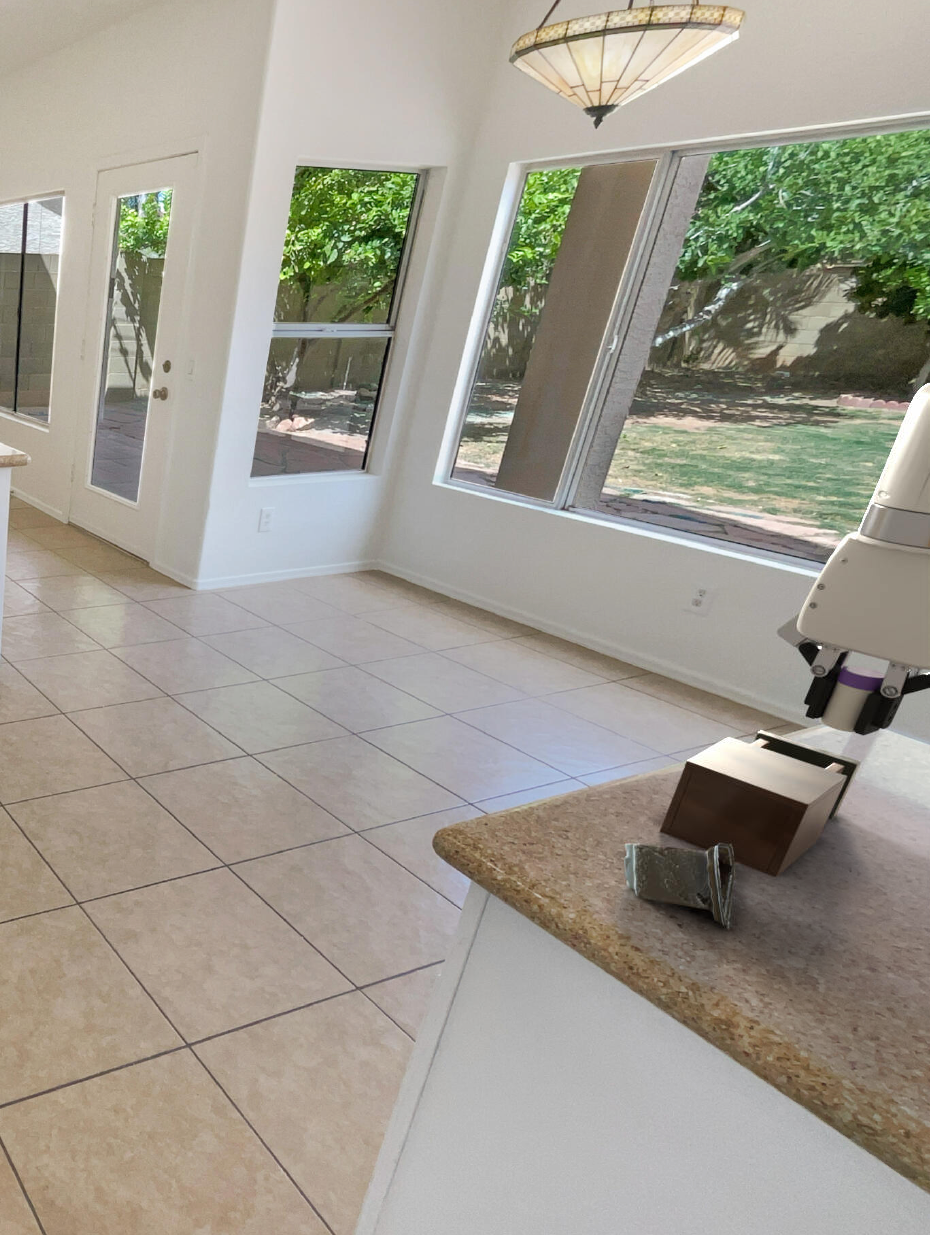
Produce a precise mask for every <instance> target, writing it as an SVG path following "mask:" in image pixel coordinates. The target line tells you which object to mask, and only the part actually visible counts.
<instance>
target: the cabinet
mask: <svg viewBox="0 0 930 1235" xmlns="http://www.w3.org/2000/svg"><path fill="white" fill-rule="evenodd" d="M846 778H847V776H845V775H842V774H839V773H836V772H833V771H830V770H827V769H824V768H821V767H818V766H815V765H812V764H809V763H806V762H803V761H800V760H797V759H794V758H791V757H788V756H785V755H782V754H779V753H776V752H773V751H770V750H767V749H764V748H761V747H758V746H755V745H752V743H749V742H745V741H742V740H739V739H736V738H734V737H730V736H729V737H727V738H724V739H723V740H721V741H719V742H717V743H715V744H714V745H712V746H710V747H708V748H707V749H705V750H703V751H701V752H700V753H698V754H697V755H695V756H693V757H691V758H689V759H687V760H686V762H685V764H684V767H683V770H682V772H681V775H680V778H679V780H678V782H677V784H676V788H675V791H674V793H673V795H672V797H671V801H670V803H669V806H668V808H667V811H666V814H665V815H664V816H665V817H664V819H663V822H662V824H661V827H660V829H659V832H660V833H663V834H665V835H667V836H670V837H672V838H676V839H678V840H680V841H683V842H685V843H688V844H690V845H693V846H695V847H698V848H700V849H703V850H704V851H707V850H708V849H710V848H711V847H715V846H717V845H718V843H724V844H728V845H729V844H731V846H732V847H733V848H732V849H733V858H734V863H738V864H740V865H743V866H746V867H748V868H751V869H753V870H756V871H758V872H761V873H764V874H765V875H768V876H771V877H773V878H777V877H779V875H781V874H782V873H783V872H784V871H785V870H786V869H787V868H789V867H790V866H791V865H793V863H794V862H795V861H797V859H798V858H800V857H801V856H802V855H803V854H804V853H805V852H807V851H808V850H809V849H810V848H811V847H813V845H815V844H816V843H817V842H818V841H819V838H820V836H821V834H822V832H823V829H824V827H825V826H826V824H827V821H828V819H829V818H828V817H829V815H830V813H831V810H832V808H833V806H834V804H835V802H836V800H837V798H838V795H839V793H840V791H841V789H842V787H843V785H844V782H845V781H846Z"/></svg>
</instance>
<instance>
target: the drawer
mask: <svg viewBox="0 0 930 1235" xmlns="http://www.w3.org/2000/svg"><path fill="white" fill-rule="evenodd" d="M751 744H752V745H755V746H758V747H761V748H764V749H767V750H770V751H773V752H776V753H779V754H782V755H785V756H788V757H791V758H794V759H797V760H800V761H803V762H806V763H809V764H812V765H815V766H818V767H821V768H824V769H827V770H830V771H833V772H836V773H839V774H842V775H845V776H847V778H846V781H845V782H844V785H843V787H842V789H841V791H840V793H839V795H838V798H837V800H836V802H835V804H834V806H833V808H832V810H831V813H830V815H829V817H828V819H829V820H834V818H836V817H837V815H838V813H839V811H840V808H841V807H842V804H843V802H844V800H845V798H846V796H847V794H848V791H849V789H850V787H851V785H852V783H853V781H854V778H855V776H856V775H857V772H858V770H859V768H860V767H861V764H862V761H859V760H857V759H853V758H851V757H847V756H844V755H841V754H838V753H835V752H832V751H828V750H825V749H823V748H820V747H816V746H814V745H810V744H807V743H803V742H801V741H798V740H795V739H791V738H787V737H785V736H781V735H779V734H775V733H772V732H769V731H766V730H760V731H758V732H757V733H756V734H755V738H754V740H753V742H752V743H751Z"/></svg>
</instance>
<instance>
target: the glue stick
mask: <svg viewBox="0 0 930 1235" xmlns="http://www.w3.org/2000/svg"><path fill="white" fill-rule="evenodd" d="M884 677H885V674H884V673H883V672H880V671H877V670H874V669H871V668H868V667H867V668H866V667H862V666H856V665H845V666H844V667H843V668H842V670H841V672H840V674H839V677H838V679H837V680H838V681H837V683H836V686H835V688H834V690H833V693H832V695H831V697H830V699H829V702H828V704H827V706H826V709H825V711H824V713H823V716H822V717H821V718H820V723H821V724H823V725H824V726H825V727H829V728H832V729H834V730H837V731H842V732H846V733H855V731H853V729H854V726H855V724H856V722H857V720H858V717H859V715H860V713H861V711H862V708H863V706H864V704H865V702H866V699H867V697H868V695H869V694H870V693H873V692H877V690H878V688H879V687H880V686H882V683H883V680H884Z"/></svg>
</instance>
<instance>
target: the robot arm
mask: <svg viewBox="0 0 930 1235" xmlns="http://www.w3.org/2000/svg"><path fill="white" fill-rule="evenodd" d="M776 634H777V635H778V636H779V637H780V638H781V639H783V640H784V641H785V642H787V643H788V644H790V645H791V646H792V647H794V648H795V649H797V650H798V652H799V653H800V655H801V656H802V657H803V659H804V660H805V662H806V663H807V664H808V666H809V667H810V668H809V672H810V674H811V675H812V676H814V677H813V679H812V681H811V684H810V686H809V689H808V691H807V693H806V694H805V695H806V696H805V697H804V700H803V704H804V705H805V706H808V708H807V709H806V712H805V715H804V717H806V718H809V719H811V720H815V719H821V718H822V716H823V713H824V711H825V709H826V706H827V704H828V702H829V699H830V697H831V695H832V693H833V690H834V688H835V686H836V683H837V681H838V680H837V679H838V677H839V674H840V672H841V670H842V668H843V667H844V666H846V664H847V663H848V660H849V659H850V657H851V654H852V653H856V654H860V655H864V656H869V657H872V658H877V659H880V660H884V661H888V662H889V663H888V666H887V669H886V671H885V674H884V675H885V677H884V680H883V683H882V686H880V687H879V688H878V690H877V692H873V693H870V694H869V695H868V697H867V699H866V702H865V704H864V706H863V708H862V711H861V713H860V715H859V717H858V720H857V722H856V724H855V726H854V729H853V731H855V732H854V733H855V734H856V735H860V736H867V735H870V734H872V733H875V732H879V730H880V729H881V730H885V729H888V728H889V727H890V725H891V724H892V723H893V721H894V718H895V717H896V714H897V712H898V711H899V708H900V705H901V704H902V701H903V699H904V697H905V696H906V695H909V694H913V693H917V692H920V691H925V690H928V689H930V382H928V383H926V384H925V385H923V386H922V387H921V388H920V389H919V390H918V391H917V392H916V394H915V395H914V396H913V399H912V401H911V402H910V405H909V406H908V410H907V413H906V415H905V417H904V420H903V422H902V424H901V427H900V429H899V431H898V434H897V436H896V439H895V441H894V444H893V447H892V449H891V452H890V454H889V456H888V458H887V461H886V463H885V466H884V469H883V471H882V473H881V476H880V479H879V481H878V482H877V485H876V488H875V490H874V493H873V495H872V497H871V500H870V502H869V505H868V507H867V510H866V512H865V514H864V516H863V519H862V522H861V524H860V527H859V528H858V531H857V532H851V533H849V534H846V535H845V537H844V538H843V539H842V540H841V542H840V543H839V544H838V546H837V547H836V549H835V550H834V551H833V553H832V554H831V555H830V557H829V559H828V561H827V562H826V564H825V565H824V567H823V569H822V570H821V571H820V573H819V575H818V577H817V579H816V580H815V582H814V584H813V586H812V587H811V589H810V591H809V593H808V596H807V597H806V599H805V601H804V603H803V606H802V608H801V610H800V612H798V613H797V614H796V615H794V616H793V617H792V618H791V619H789V620H788V621H786V622H785V623H784V624H783V625H782V626H780V627H779V628H778V629H777V631H776ZM923 670H926V671H927V670H928V672H925V673H922V672H923Z"/></svg>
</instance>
